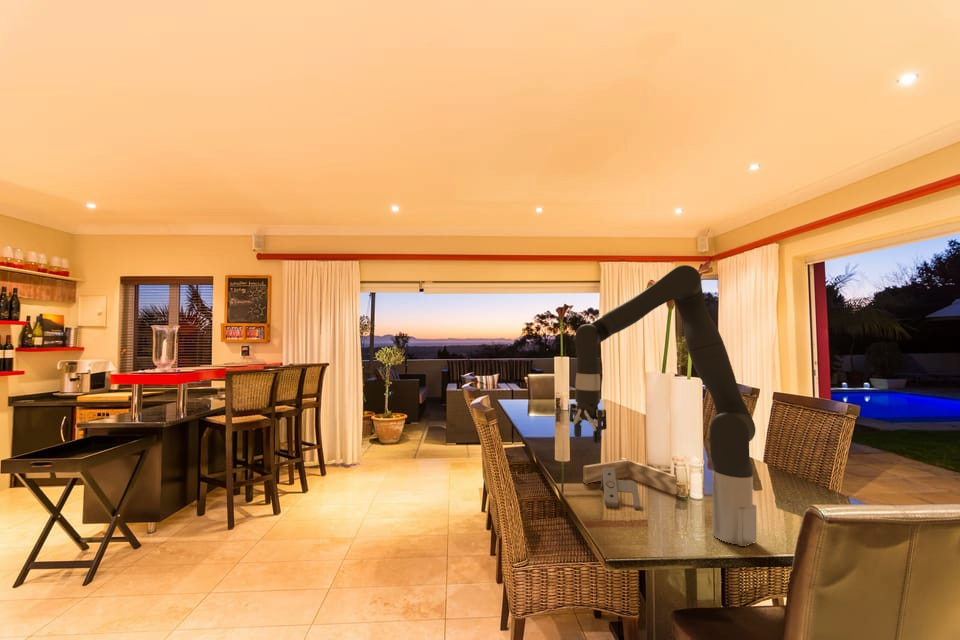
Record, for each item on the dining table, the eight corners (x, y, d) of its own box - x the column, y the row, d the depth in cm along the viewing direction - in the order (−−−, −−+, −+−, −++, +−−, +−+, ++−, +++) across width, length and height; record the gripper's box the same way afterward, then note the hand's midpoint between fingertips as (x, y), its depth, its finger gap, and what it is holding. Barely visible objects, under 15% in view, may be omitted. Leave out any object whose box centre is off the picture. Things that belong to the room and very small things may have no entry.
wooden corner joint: (676, 493, 147) (676, 475, 147) (629, 504, 137) (630, 485, 137) (623, 473, 168) (623, 457, 168) (579, 481, 157) (579, 464, 158)
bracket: (632, 490, 149) (634, 469, 145) (638, 527, 137) (641, 505, 132) (600, 487, 151) (602, 466, 147) (603, 524, 139) (605, 502, 134)
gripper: (613, 390, 132) (612, 443, 132) (581, 384, 145) (580, 433, 144) (594, 391, 129) (593, 446, 128) (563, 385, 141) (562, 435, 141)
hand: (587, 439), depth 136 cm, fingers open, 8 cm apart
